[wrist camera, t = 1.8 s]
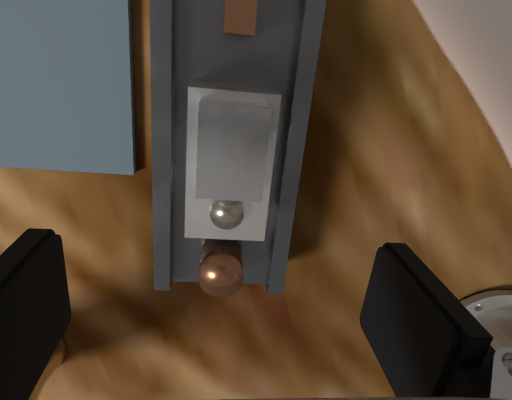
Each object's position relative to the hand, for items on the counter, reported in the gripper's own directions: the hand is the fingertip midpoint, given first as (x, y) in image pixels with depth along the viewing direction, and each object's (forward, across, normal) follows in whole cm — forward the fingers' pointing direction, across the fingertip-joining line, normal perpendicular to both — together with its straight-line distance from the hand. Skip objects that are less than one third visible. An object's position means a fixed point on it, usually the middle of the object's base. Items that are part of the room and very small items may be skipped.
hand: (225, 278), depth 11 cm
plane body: (+18, 0, 0) cm, 18 cm away
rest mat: (+19, +12, -3) cm, 23 cm away
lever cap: (+15, 0, 0) cm, 15 cm away
